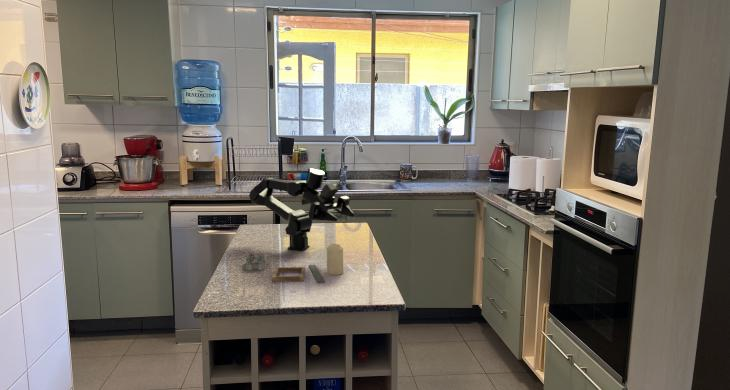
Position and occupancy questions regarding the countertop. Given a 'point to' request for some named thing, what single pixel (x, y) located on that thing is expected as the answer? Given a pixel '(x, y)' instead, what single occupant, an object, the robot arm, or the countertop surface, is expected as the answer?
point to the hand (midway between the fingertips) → (345, 217)
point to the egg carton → (255, 261)
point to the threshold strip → (316, 274)
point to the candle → (334, 259)
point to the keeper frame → (288, 278)
